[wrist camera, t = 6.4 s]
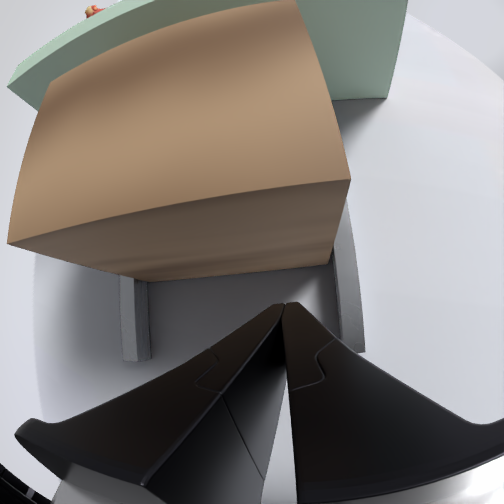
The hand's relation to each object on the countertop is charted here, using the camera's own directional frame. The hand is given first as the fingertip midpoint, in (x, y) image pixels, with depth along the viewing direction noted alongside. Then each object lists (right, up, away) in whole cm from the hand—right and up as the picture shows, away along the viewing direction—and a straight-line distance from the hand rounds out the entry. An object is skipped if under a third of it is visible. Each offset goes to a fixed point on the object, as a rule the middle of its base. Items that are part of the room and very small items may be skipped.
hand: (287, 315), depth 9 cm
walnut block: (-2, +4, +8) cm, 9 cm away
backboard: (-3, +12, +9) cm, 15 cm away
